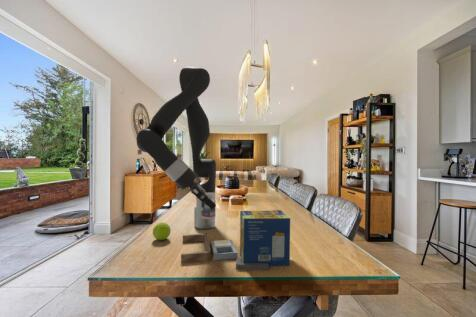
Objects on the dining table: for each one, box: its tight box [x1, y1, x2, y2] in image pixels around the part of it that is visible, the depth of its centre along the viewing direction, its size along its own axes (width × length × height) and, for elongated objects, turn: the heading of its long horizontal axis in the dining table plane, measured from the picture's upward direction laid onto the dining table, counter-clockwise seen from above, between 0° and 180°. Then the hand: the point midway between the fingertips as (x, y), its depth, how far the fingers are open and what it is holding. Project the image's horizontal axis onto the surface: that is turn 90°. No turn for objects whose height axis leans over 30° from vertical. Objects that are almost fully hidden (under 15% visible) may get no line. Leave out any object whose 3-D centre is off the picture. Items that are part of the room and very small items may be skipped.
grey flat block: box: [235, 257, 270, 271], centre depth 74 cm, size 10×5×2 cm, turn 86°
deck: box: [210, 239, 239, 261], centre depth 84 cm, size 8×12×2 cm, turn 12°
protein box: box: [239, 209, 291, 267], centre depth 79 cm, size 10×15×16 cm
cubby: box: [180, 233, 212, 263], centre depth 86 cm, size 10×19×3 cm, turn 12°
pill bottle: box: [201, 192, 216, 219], centre depth 87 cm, size 5×5×9 cm
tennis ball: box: [152, 222, 172, 241], centre depth 96 cm, size 7×7×7 cm
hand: (213, 205), depth 87 cm, fingers closed on pill bottle, 5 cm apart
